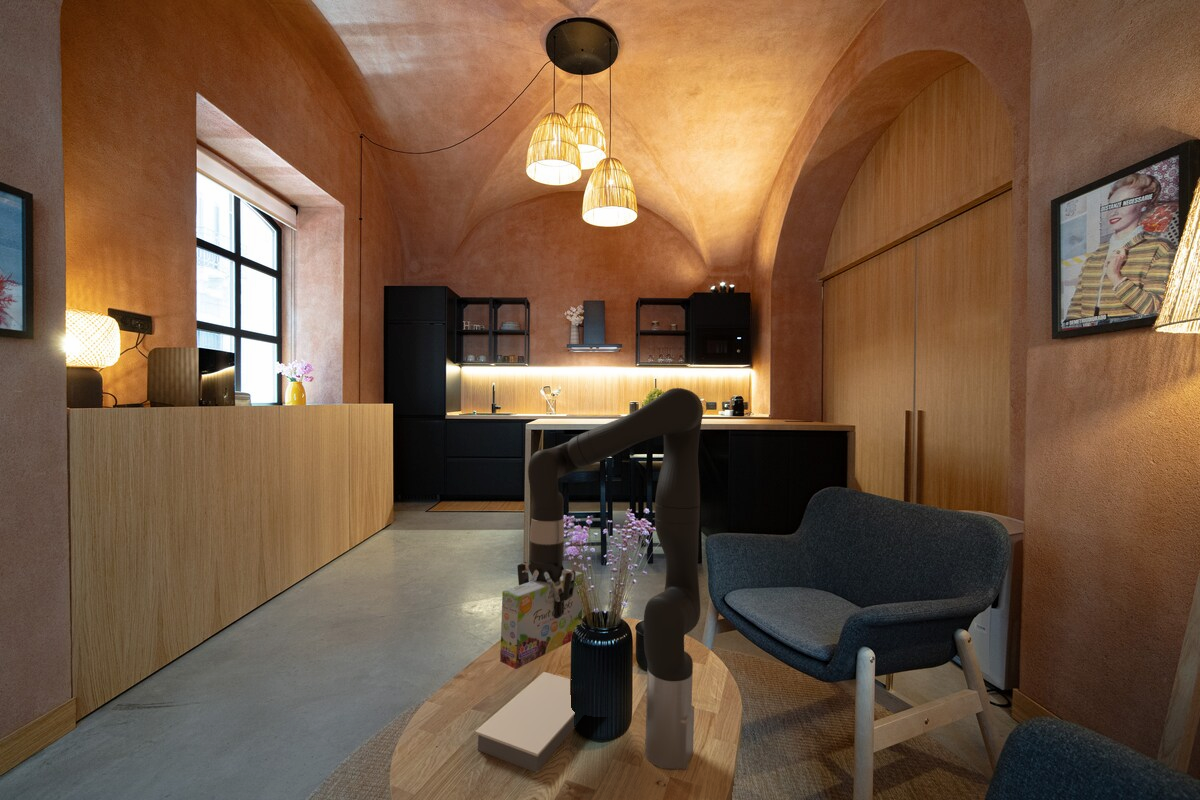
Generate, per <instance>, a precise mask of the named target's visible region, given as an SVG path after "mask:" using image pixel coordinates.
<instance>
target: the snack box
mask: <svg viewBox="0 0 1200 800" xmlns="http://www.w3.org/2000/svg"><path fill="white" fill-rule="evenodd" d="M565 570H567V571H572V570H573V569H568V568H566V569H565ZM574 571H575V572H576V575H575V582H576V583H577V585H578V587H579V588H580V586H582V582H583V583H584V572H581V571H576V570H574ZM560 579H561V581H562V584H563V590H564V583H565V581H564V580H563V575H562V576H561V577H560ZM575 582H574V589H573V596H572V597H570V598H569V599H567V600H566V601H565V600H564V613H563V615H562V616H561V617H560V618H558V619H557V618H554V610H555V601H556V600H555V597H554V595H553V592H551V588H550V585H549V584H548V583H547V582H542V581H530V580H529V582H528V583H525V584H522V585H519V584H518V585H517V586H513V587H510V588H507V589H504V590H503V591H502V594H501V595H502V596H501V597H502V599H501V623H500V624H501V627H500V628H501V630H500V652H499V653H500V655H499V659H500V660H499V661H500V663H502V664H505V665H506V666H509V667H511V668H513V669H515V670H518V669H520V668H522V667H524V666H525V665H527V664H529V663H531V662H533V661H535V660H537V659H539V658H541V657H543V656H546V655H547V654H549V653H551V652H553V651H554V650H555V651H556V650H557V649H559V648H560V647H563V646H565V645H567V644H569V643H570V642H572V635H573V632H574V630H575V627H576V626H577V625H580V624H582V625H583V605H581V600H580V596H579V592H578V588H577V585H576V583H575ZM558 585H559V581H557V582H556V583H555V586H558ZM579 591H580V589H579ZM580 593H581V592H580ZM580 595H581V594H580ZM581 598H582V597H581Z"/></svg>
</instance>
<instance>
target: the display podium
mask: <svg viewBox="0 0 1200 800" xmlns="http://www.w3.org/2000/svg"><path fill="white" fill-rule="evenodd" d="M570 679H571V678H567V677H563V676H561V675H560V676H559V675H556V674H553V673H549V672H545V671H543V672H542V673H541V674H540V675H539V676H537V677H536V678H535V679H534V680H533V681H532V682H530V683H529V684H527V686H526V687H524V689H522V690H521V691H519V693H518V694H516V695H515V696H514V697H513V698H512V699H510V701H508V702H507V703H506V704H505V705H504V706H502V707H501V708H500V709H499V710H498V711H497V712H496V713H495V714H493V715H492V716H491V717H490V718H488V719H487V720H486V721H485V722H484V723H483V724H481V725H480V727H478V728H477V729H476V730H474V734H475V735H478V736H477V740H478V741H477V751H479V752H482V753H485V754H486V755H489V756H492V757H495V758H497V759H500V760H503V761H505V762H508V763H510V764H513V765H515V766H517V767H521V768H523V769H526V770H528V771H531V772H534V773H537V772H538V771H539V770H540V769H541V768H542V767H543V766H544V764H545V763H546V762H547V760H548V759H550V758H551V757H552V755H553V754H554V752H555V751H556V750H557V749H558V748H559V747H560V745H561V744H562V743H563V742H564V740H566V738H567V737H569V735H570V734H571V732H573V731H574V729H575V728H576V727H574V715H575V712H574V711H573V710H572V708H571V695H570Z"/></svg>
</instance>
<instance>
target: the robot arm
mask: <svg viewBox="0 0 1200 800" xmlns="http://www.w3.org/2000/svg"><path fill="white" fill-rule="evenodd" d="M703 415H704V407H703V403H702V401H701V398H700V397H699V396H698V395H697V394H696V393H695V392H693V391H692V390H688V389H686V388H681V387H680V388H679V387H676V388H675V387H673V388H669V389H668V390H666V391H665V392H663V393H662V394H661V395H659V396H658V397H657V398H655V399H652V400H651V401H650V402H649V403H646V405H644V406H642V407H640V408H638V409H637V410H635V411H633V412H630V413H629V414H627V415H625V416H622V417H620V418H618V419H615V420H612V421H609V422H607V423H605V424H601V425H599V426H597V427H595V428H592V429H590V430H588V431H587V430H586V431H585V432H583V433H580V434H578V435H576V436H574V437H572V438H571V439H570V440H569V441H566V442H564V443H561V444H559V445H556V446H554V447H551V448H547V449H540V450H537V451H535V452H534V453H533V454H532V456H531V457H530V458H529V462H528V468H527V477H528V483H529V489H530V493H531V494H530V495H531V499H532V501H531V504H532V505H531V523H530V530H529V563H528V562H526V561H524V562H521V563H519V564H518V565H517V580H518V586H519V585H522V584H525V583H528V582H530V581H542V582H547V583H548V584H549V585H550V588H551V592H553V595H554V597H555V600H556V601H555V610H554V618H557V619H558V618H560V617H561V616H562V615H563V613H564V600H565V601H566V600H567V599H569V598H570V597H572V596H573V589H574V582H575V575H576V572H575V571H576V570H573V569H571V570H572V571H567V570H566V569H565V567H564V565H563V561H564V551H565V550H564V543H565V541H564V540H565V524H564V509H565V508H564V505H565V503H564V496H563V494H562V493H561V492H560V491H559V485H558V483H559V482H558V481H559V479H560V478H563V477H564V476H568V475H569V474H571V473H573V472H575V471H577V470H579V469H581V468H585V467H588V466H591V465H593V464H596V463H598V462H601V461H603V460H606V459H608V458H610V457H612V456H614V455H617V454H618V453H620V452H623V451H624V450H626V449H628V448H630V447H632V446H634V445H636V444H637V445H638V444H640V443H641V442H644V441H647V440H650V439H653V438H656V437H660V436H661V437H662V436H663V455H662V456H663V458H662V463H661V467H660V471H659V475H658V480H657V485H656V492H655V498H654V499H655V501H654V503H655V504H654V506H655V507H654V526H655V527H654V528H655V532H656V536H657V538H658V542H659V544H660V546H661V548H662V551H663V553H664V559H665V569H666V571H665V585H664V589H663V591H662V592H660V593H658V594H656V595H654V596H652V597H651V598H650V599H649V600H648V601H647V603H646V604H645V609H644V613H643V647H644V648H643V650H644V656H645V658H646V661H647V672H646V673H647V674H646V675H647V676H646V705H645V706H646V708H645V709H646V710H645V714H646V715H645V739H644V742H645V743H644V745H645V747H644V751H645V752H644V753H645V756H646V758H647V759H648V760H649V762H650V763H652V764H653V765H655V766H656V767H659V768H662V769H668V770H676V769H682V770H686V769H687V766H688V765H689V762H690V760H691V758H692V756H693V753H694V737H695V736H694V735H695V734H694V731H695V729H694V728H695V727H694V726H695V706H694V705H692V704H693V703H692V702H693V669H694V668H693V666H694V662H693V658H692V656H691V655H690V654H689V653H688V652H687V651H685V636H686V635H687V634H688V633H690V632H691V631H693V630H694V629H695V628H696V626H697V625H698V623H699V620H700V617H701V596H700V586H699V585H700V583H699V582H700V581H699V565H698V564H699V562H698V561H699V534H700V532H699V529H700V517H701V516H700V514H701V513H700V511H701V509H700V508H701V499H700V498H701V497H700V496H701V495H700V493H701V491H700V474H699V473H700V472H699V457H698V456H699V447H700V446H699V445H700V444H699V443H700V434H701V428H702V421H703ZM529 572H530V575H531V578H530V577H529V576H530V575H529ZM562 575H563V580H564V581H565V583H564V590H563V584H562V581H561V579H560V577H561V576H562ZM529 578H530V579H529ZM557 581H559V585H558V586H555V583H556V582H557Z"/></svg>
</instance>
